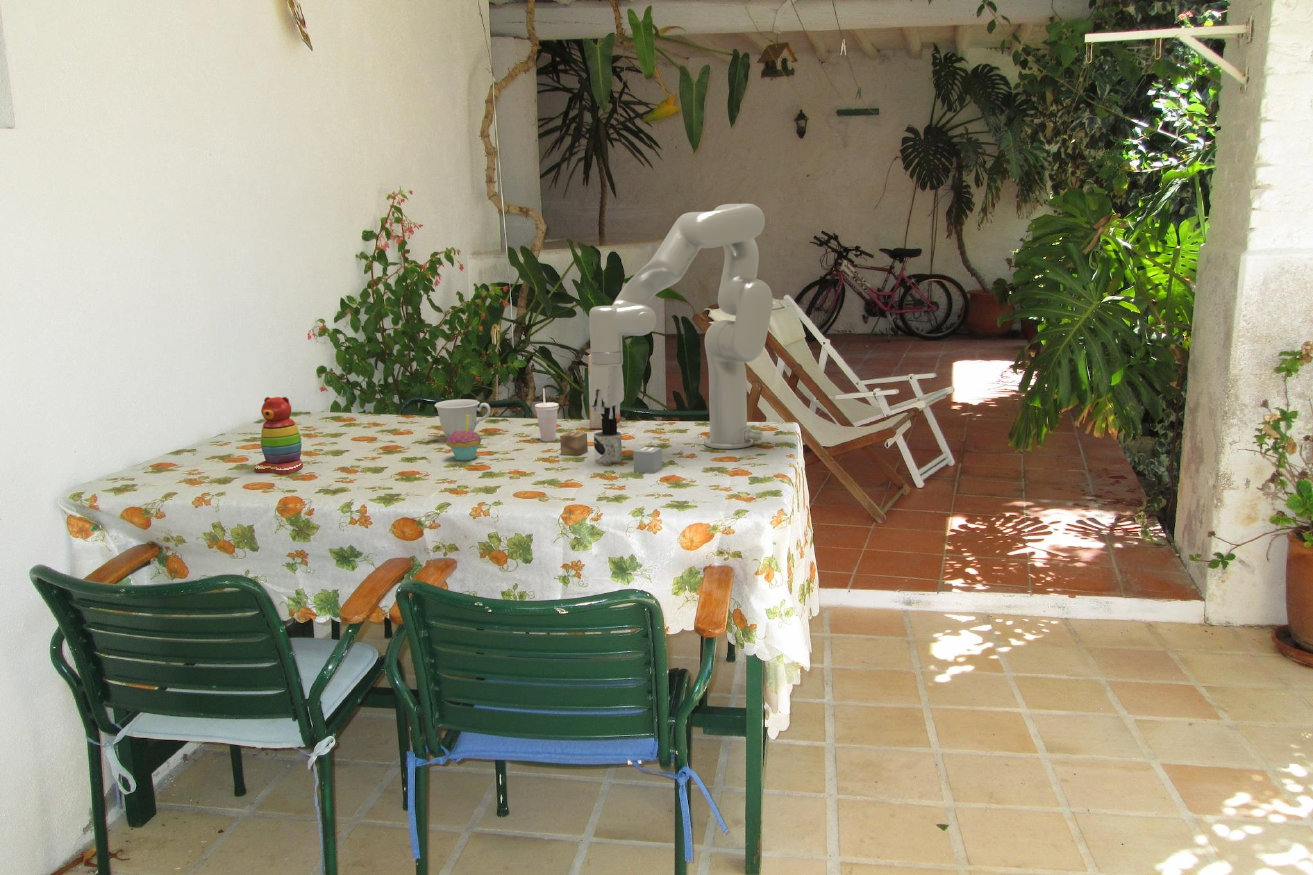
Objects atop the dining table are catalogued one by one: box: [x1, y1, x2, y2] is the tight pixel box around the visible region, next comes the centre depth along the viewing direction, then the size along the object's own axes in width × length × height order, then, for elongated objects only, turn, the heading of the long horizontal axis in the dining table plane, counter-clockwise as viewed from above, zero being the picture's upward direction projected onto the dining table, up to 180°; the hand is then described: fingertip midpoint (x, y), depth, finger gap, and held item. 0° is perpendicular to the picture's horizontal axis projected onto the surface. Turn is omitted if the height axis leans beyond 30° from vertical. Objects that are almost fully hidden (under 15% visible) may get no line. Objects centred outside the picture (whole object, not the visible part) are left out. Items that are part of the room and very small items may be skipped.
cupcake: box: [445, 412, 482, 461], centre depth 261 cm, size 9×8×12 cm
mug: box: [593, 431, 623, 465], centre depth 253 cm, size 10×7×7 cm, turn 23°
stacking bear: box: [253, 396, 304, 475], centre depth 255 cm, size 11×10×18 cm
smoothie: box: [534, 387, 560, 443], centre depth 279 cm, size 6×6×14 cm
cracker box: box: [587, 353, 621, 430], centre depth 297 cm, size 14×6×21 cm, turn 168°
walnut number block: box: [559, 431, 589, 457], centre depth 264 cm, size 5×5×5 cm
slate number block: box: [632, 446, 663, 474], centre depth 244 cm, size 5×5×5 cm
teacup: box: [434, 398, 492, 437], centre depth 284 cm, size 12×15×10 cm
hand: (609, 434), depth 253 cm, fingers closed
